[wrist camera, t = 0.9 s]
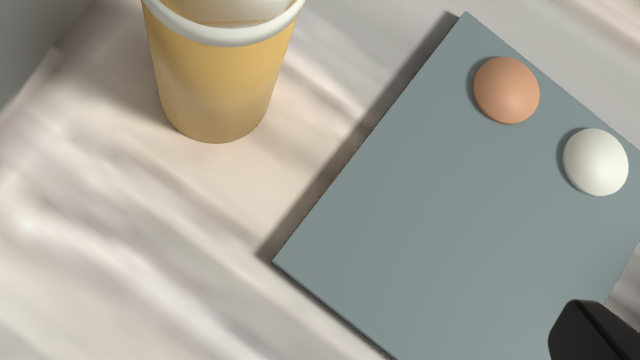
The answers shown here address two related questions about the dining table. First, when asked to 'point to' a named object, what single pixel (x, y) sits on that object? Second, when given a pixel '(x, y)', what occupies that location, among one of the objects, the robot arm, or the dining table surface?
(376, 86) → the dining table surface
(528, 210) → the card
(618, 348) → the robot arm
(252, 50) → the amber cup
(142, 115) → the dining table surface
